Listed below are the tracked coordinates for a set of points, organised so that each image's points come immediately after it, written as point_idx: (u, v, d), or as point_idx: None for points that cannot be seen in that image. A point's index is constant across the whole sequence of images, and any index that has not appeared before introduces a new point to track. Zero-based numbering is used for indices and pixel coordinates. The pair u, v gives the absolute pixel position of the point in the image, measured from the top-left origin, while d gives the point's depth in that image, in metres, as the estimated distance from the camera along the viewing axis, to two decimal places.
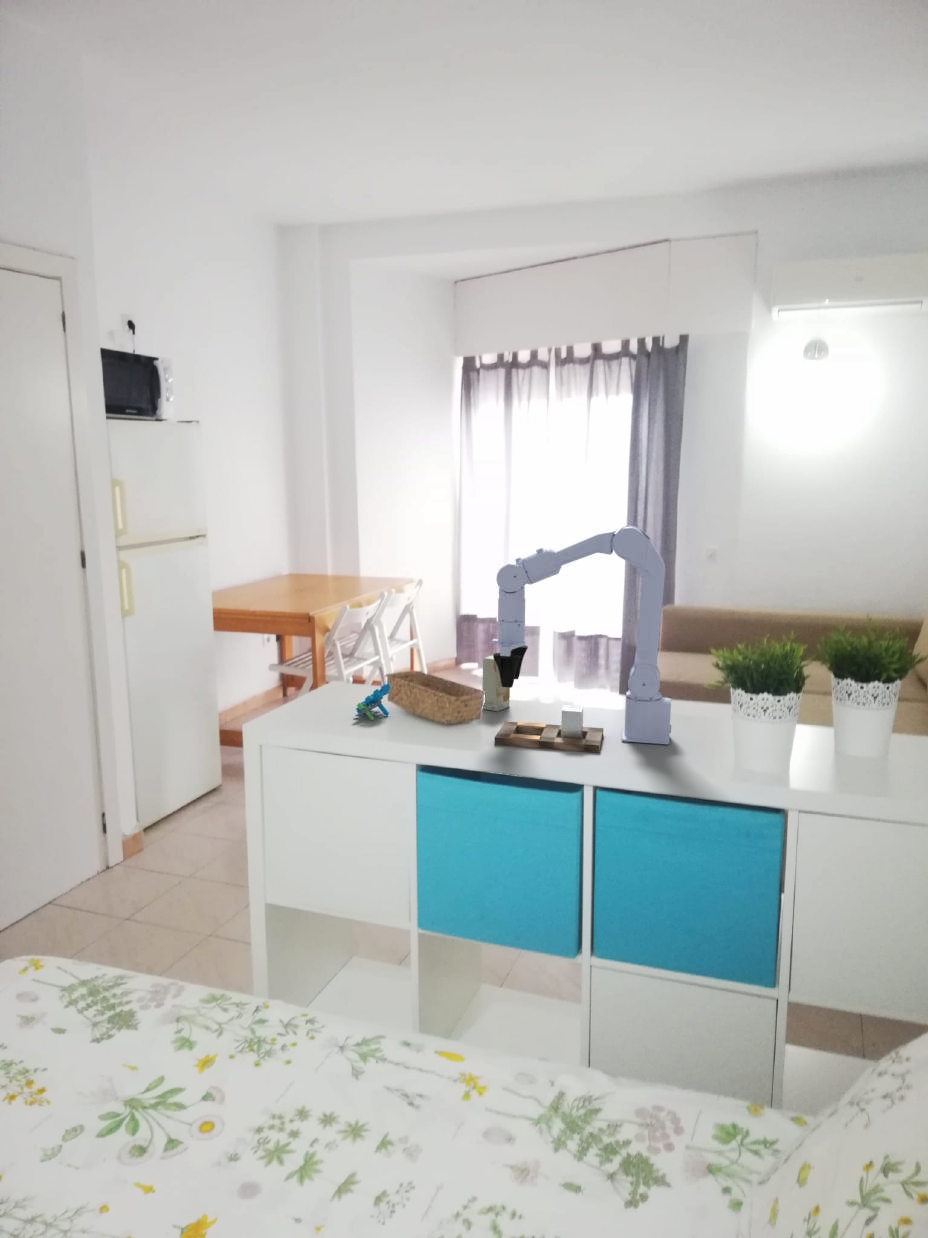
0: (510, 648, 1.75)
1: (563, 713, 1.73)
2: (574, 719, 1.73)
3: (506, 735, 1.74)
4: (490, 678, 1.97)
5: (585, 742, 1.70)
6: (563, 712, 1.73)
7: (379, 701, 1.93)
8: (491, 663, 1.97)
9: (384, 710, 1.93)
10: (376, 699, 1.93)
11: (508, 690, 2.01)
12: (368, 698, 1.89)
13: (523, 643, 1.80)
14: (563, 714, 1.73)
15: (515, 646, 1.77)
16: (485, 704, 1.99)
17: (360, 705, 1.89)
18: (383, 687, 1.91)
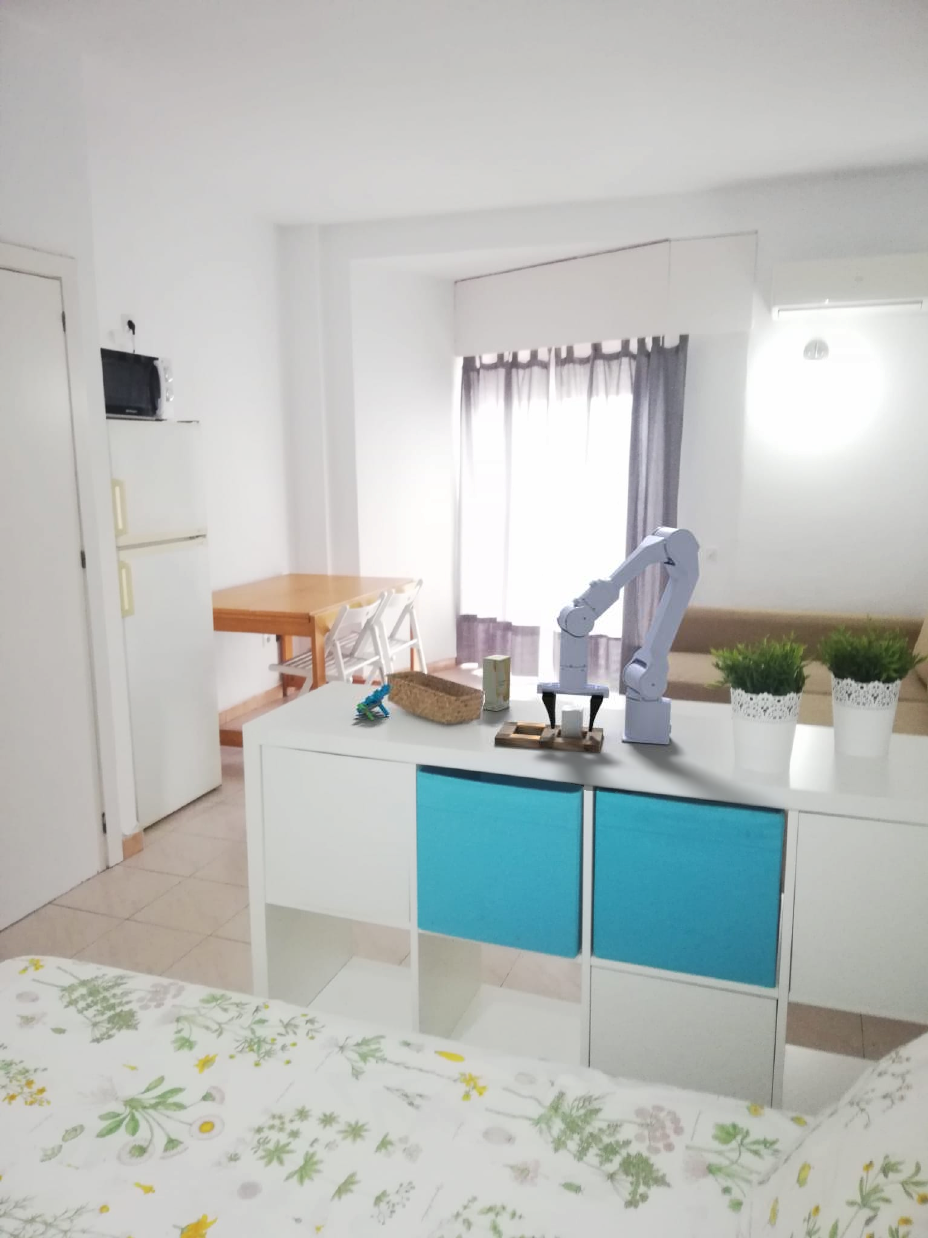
0: (540, 686, 1.74)
1: (563, 713, 1.73)
2: (574, 719, 1.73)
3: (506, 735, 1.74)
4: (490, 678, 1.97)
5: (585, 742, 1.70)
6: (563, 712, 1.73)
7: (379, 701, 1.93)
8: (491, 663, 1.97)
9: (384, 710, 1.93)
10: (376, 699, 1.93)
11: (508, 690, 2.01)
12: (368, 698, 1.89)
13: (566, 689, 1.71)
14: (563, 714, 1.73)
15: (551, 687, 1.73)
16: (485, 704, 1.99)
17: (360, 705, 1.89)
18: (383, 687, 1.91)
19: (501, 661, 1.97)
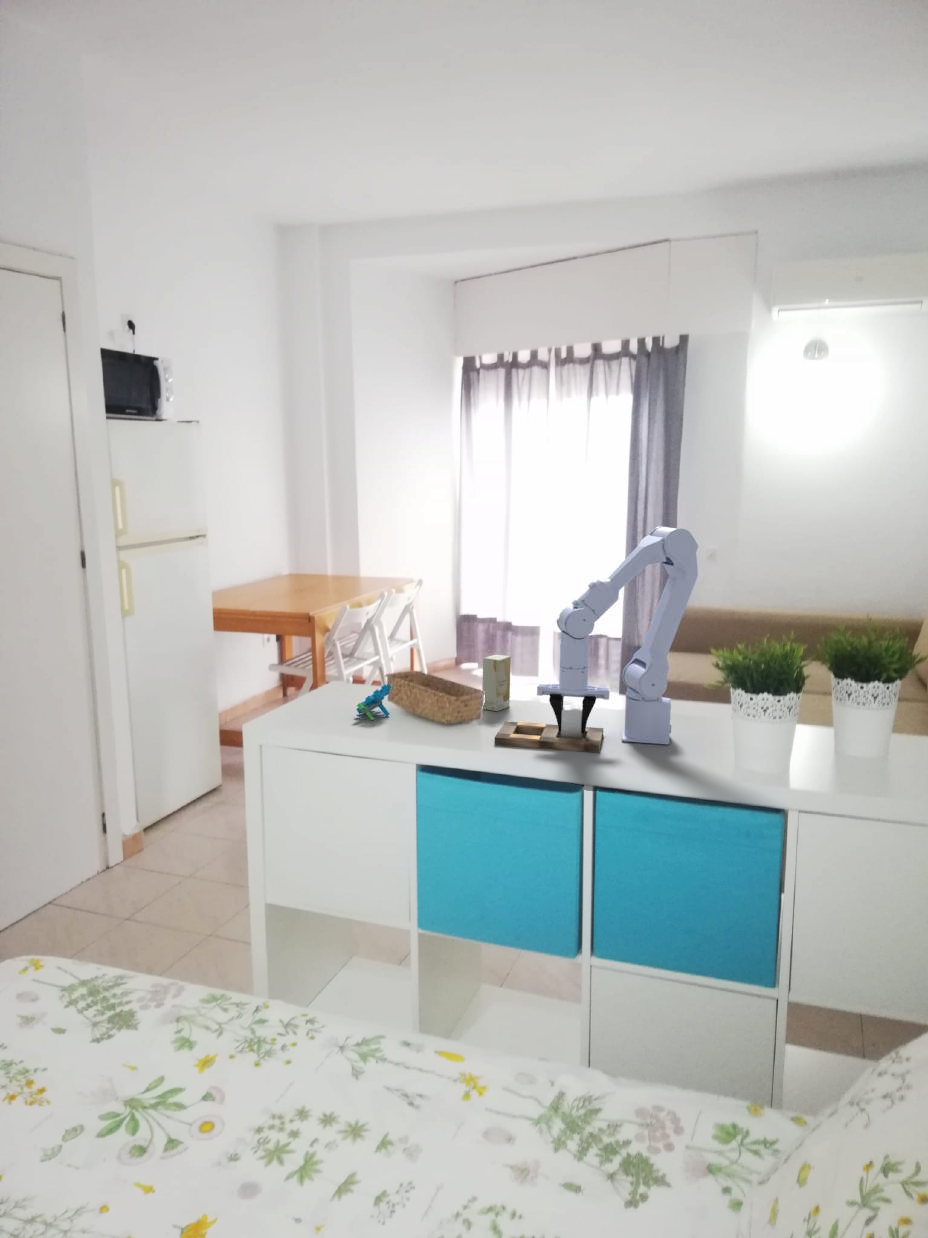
0: (540, 688, 1.74)
1: (563, 713, 1.73)
2: (574, 718, 1.73)
3: (506, 735, 1.74)
4: (490, 678, 1.97)
5: (585, 742, 1.70)
6: (563, 712, 1.73)
7: (380, 701, 1.93)
8: (491, 663, 1.97)
9: (385, 710, 1.93)
10: (377, 699, 1.93)
11: (508, 690, 2.01)
12: (368, 698, 1.89)
13: (566, 691, 1.71)
14: (563, 714, 1.73)
15: (551, 689, 1.73)
16: (485, 704, 1.99)
17: (360, 705, 1.89)
18: (383, 687, 1.91)
19: (501, 661, 1.97)
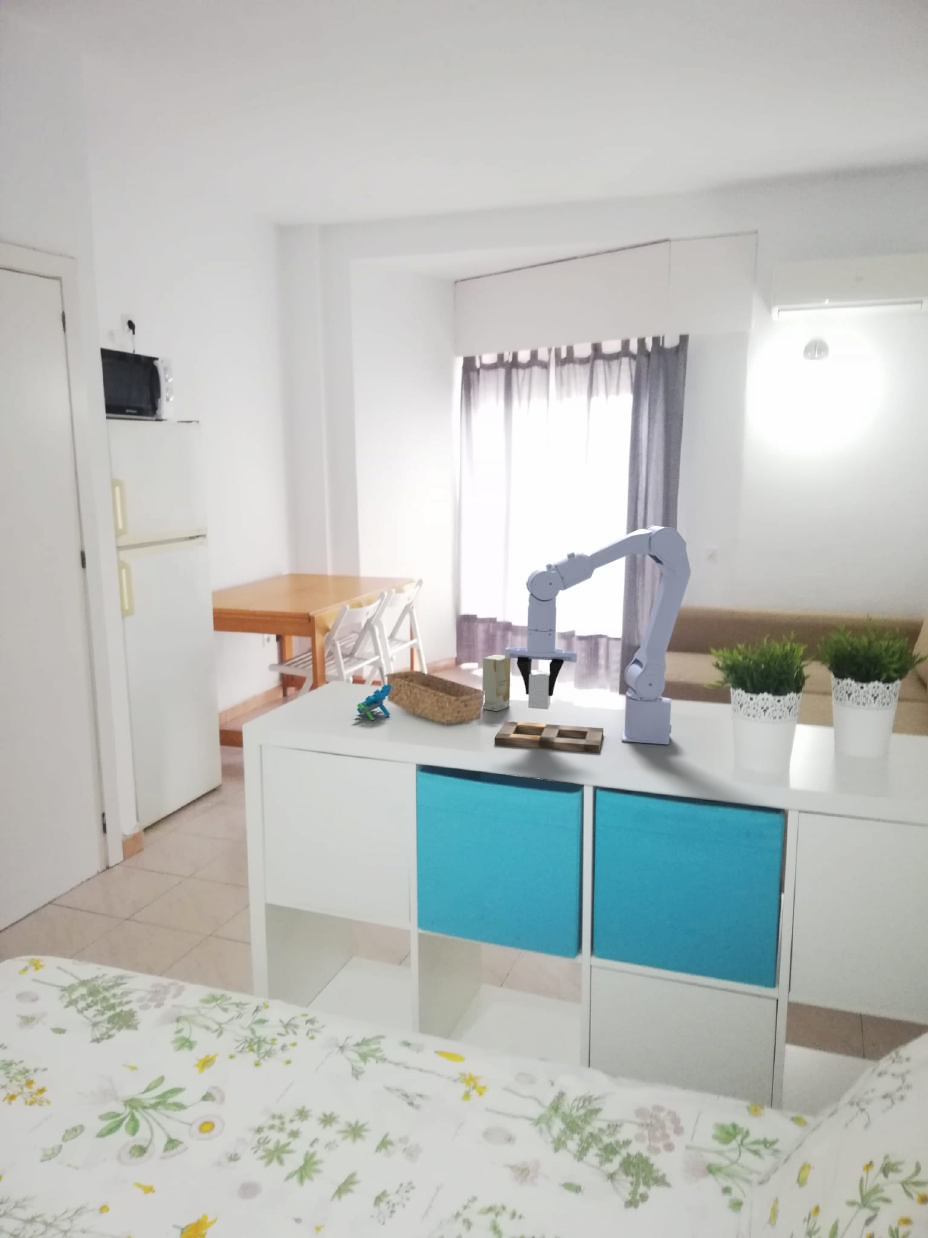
0: (508, 651, 1.74)
1: (530, 677, 1.73)
2: (541, 683, 1.73)
3: (506, 735, 1.74)
4: (490, 678, 1.97)
5: (585, 742, 1.70)
6: (530, 676, 1.73)
7: (380, 701, 1.93)
8: (491, 663, 1.97)
9: (385, 711, 1.92)
10: (377, 699, 1.93)
11: (508, 690, 2.01)
12: (368, 698, 1.89)
13: (533, 654, 1.71)
14: (530, 678, 1.73)
15: (518, 652, 1.73)
16: (485, 704, 1.99)
17: (360, 705, 1.89)
18: (384, 688, 1.90)
19: (501, 661, 1.97)
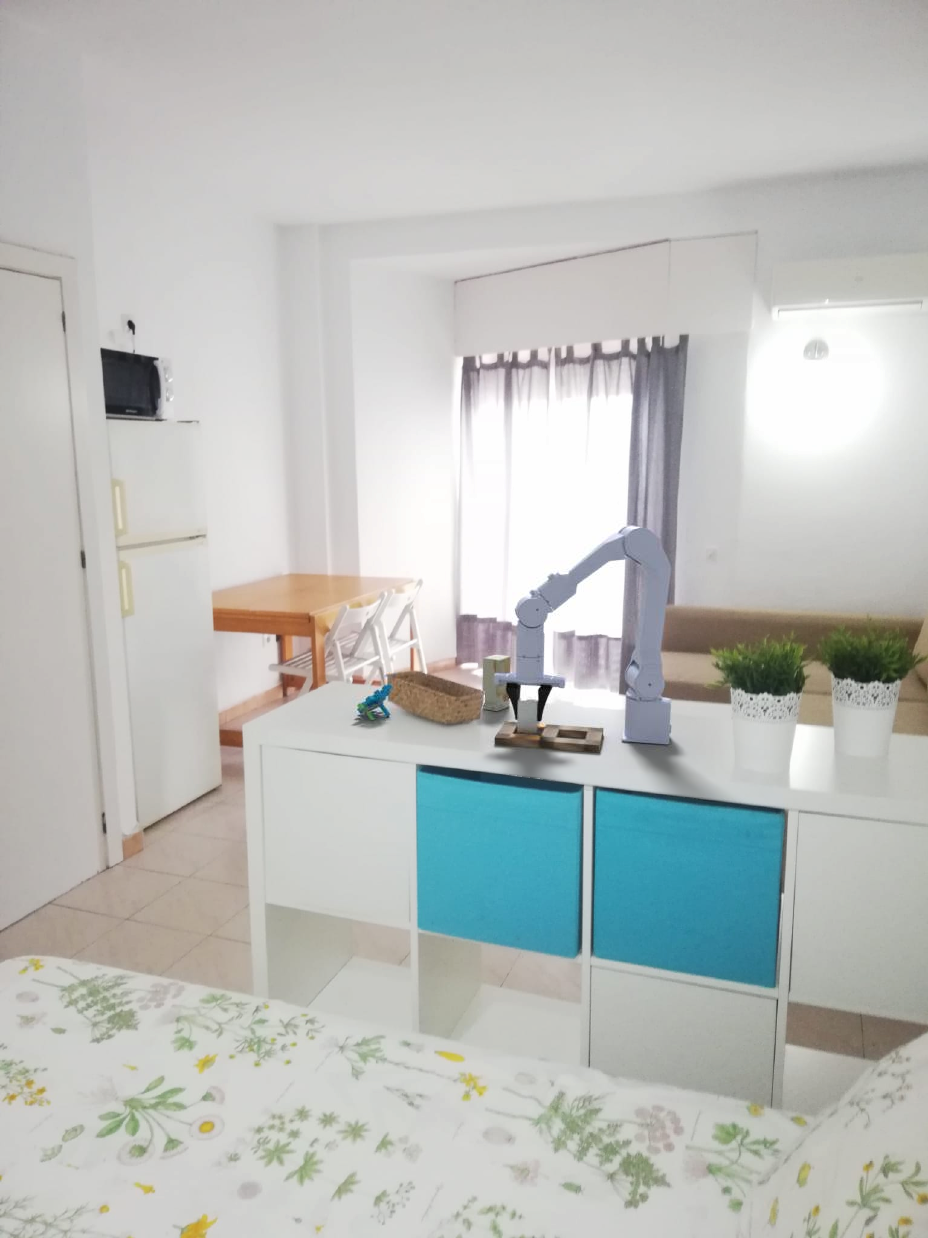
0: (497, 677, 1.76)
1: (519, 703, 1.75)
2: (530, 708, 1.74)
3: (506, 735, 1.74)
4: (490, 678, 1.97)
5: (585, 742, 1.70)
6: (519, 702, 1.74)
7: (381, 702, 1.93)
8: (491, 663, 1.97)
9: (385, 711, 1.92)
10: (378, 700, 1.93)
11: None
12: (368, 698, 1.89)
13: (522, 680, 1.73)
14: (519, 704, 1.75)
15: (507, 678, 1.75)
16: (485, 704, 1.99)
17: (360, 705, 1.89)
18: (384, 688, 1.90)
19: (501, 661, 1.97)
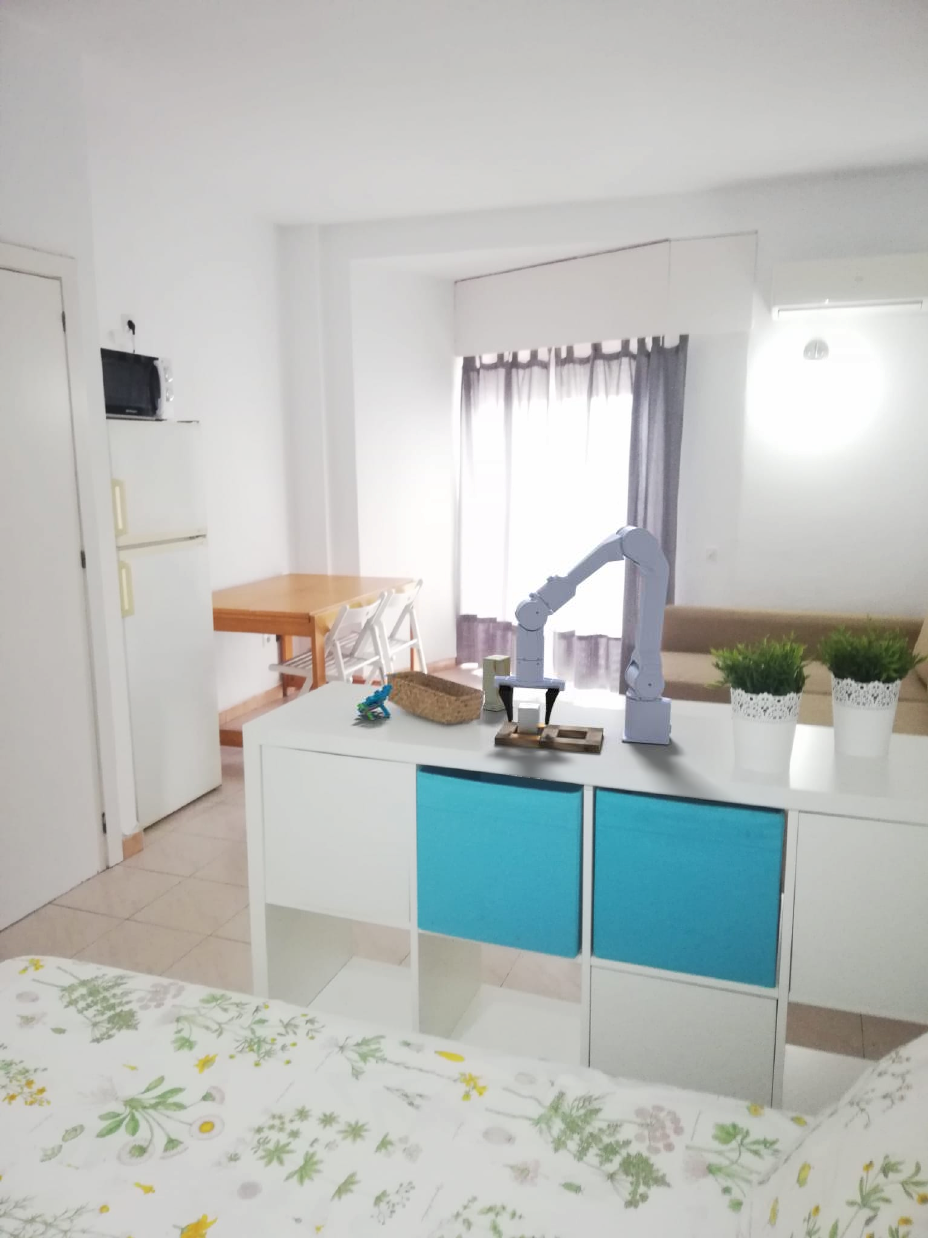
0: (497, 680, 1.76)
1: (519, 710, 1.75)
2: (530, 716, 1.74)
3: (506, 735, 1.74)
4: (490, 678, 1.97)
5: (585, 742, 1.70)
6: (519, 709, 1.75)
7: (381, 702, 1.93)
8: (491, 663, 1.97)
9: (385, 711, 1.92)
10: (378, 700, 1.93)
11: None
12: (368, 698, 1.89)
13: (522, 683, 1.73)
14: (519, 711, 1.75)
15: (507, 681, 1.75)
16: (485, 704, 1.99)
17: (360, 705, 1.89)
18: (384, 688, 1.90)
19: (501, 661, 1.97)
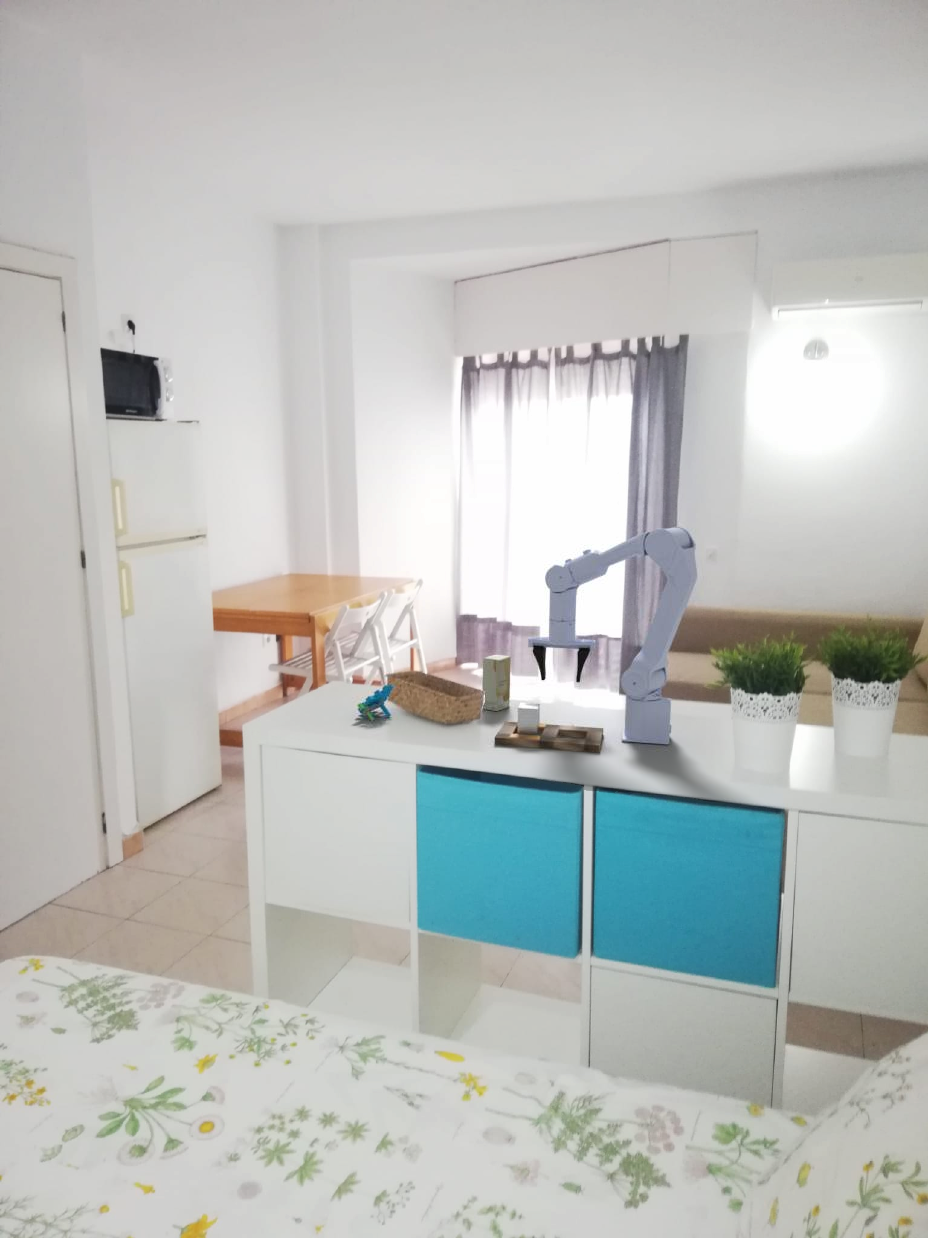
0: (531, 640, 1.87)
1: (519, 710, 1.75)
2: (530, 716, 1.74)
3: (506, 735, 1.74)
4: (490, 678, 1.97)
5: (585, 742, 1.70)
6: (519, 709, 1.75)
7: (381, 702, 1.92)
8: (491, 663, 1.97)
9: (386, 711, 1.92)
10: (378, 700, 1.92)
11: (508, 690, 2.01)
12: (368, 699, 1.89)
13: (555, 642, 1.84)
14: (519, 711, 1.75)
15: (541, 641, 1.86)
16: (485, 704, 1.99)
17: (360, 705, 1.89)
18: (384, 688, 1.90)
19: (501, 661, 1.97)
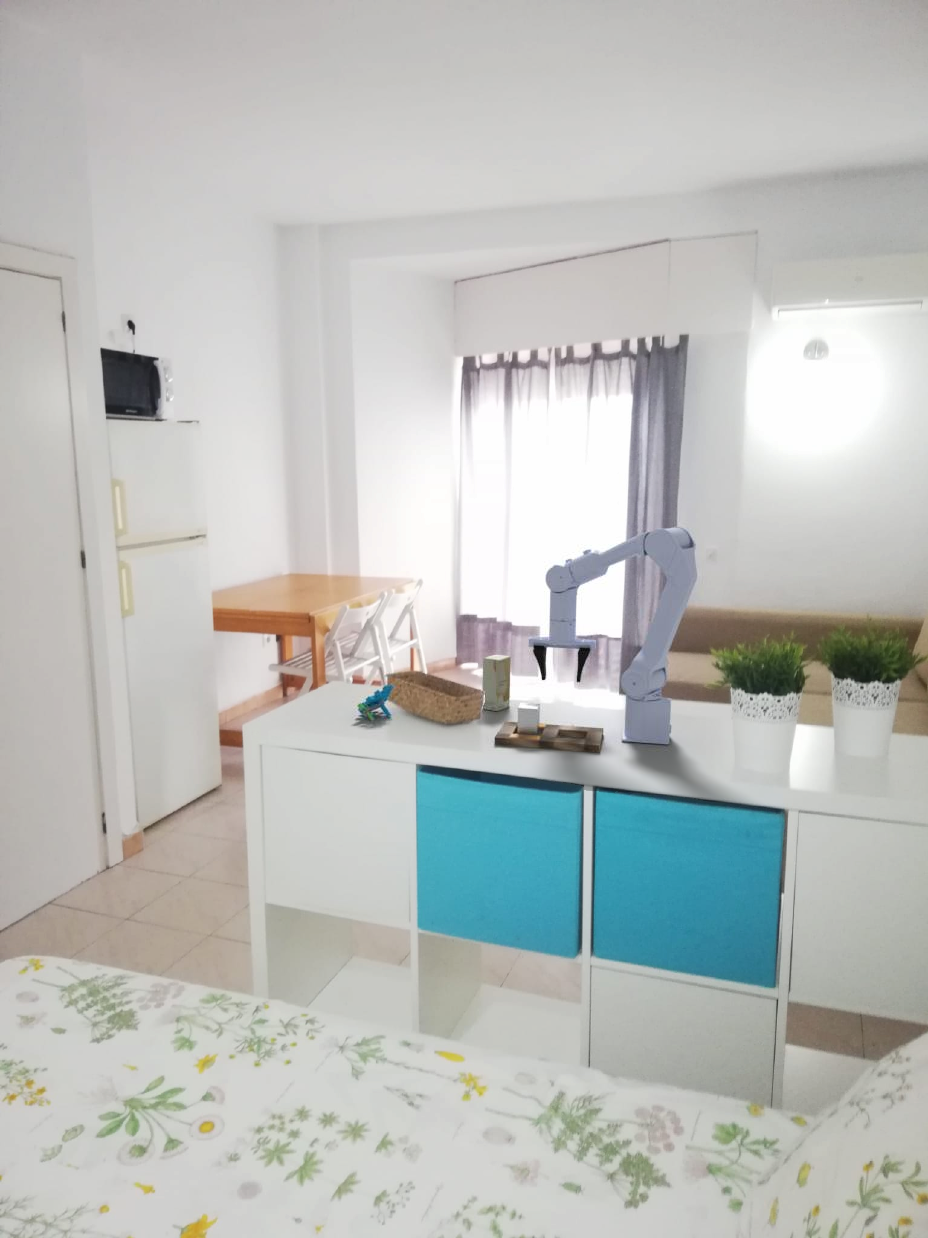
0: (531, 640, 1.87)
1: (519, 710, 1.75)
2: (530, 716, 1.74)
3: (506, 735, 1.74)
4: (490, 678, 1.97)
5: (585, 742, 1.70)
6: (519, 709, 1.75)
7: (381, 702, 1.92)
8: (491, 663, 1.97)
9: (386, 711, 1.92)
10: (378, 700, 1.92)
11: (508, 690, 2.01)
12: (368, 699, 1.89)
13: (555, 642, 1.84)
14: (519, 711, 1.75)
15: (541, 641, 1.86)
16: (485, 704, 1.99)
17: (360, 705, 1.89)
18: (384, 688, 1.90)
19: (501, 661, 1.97)
